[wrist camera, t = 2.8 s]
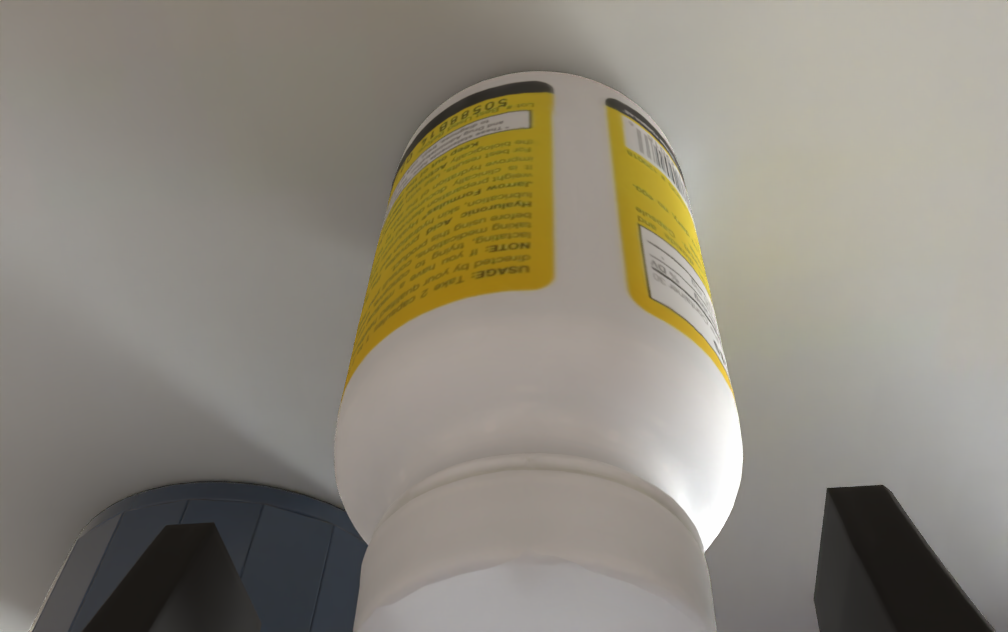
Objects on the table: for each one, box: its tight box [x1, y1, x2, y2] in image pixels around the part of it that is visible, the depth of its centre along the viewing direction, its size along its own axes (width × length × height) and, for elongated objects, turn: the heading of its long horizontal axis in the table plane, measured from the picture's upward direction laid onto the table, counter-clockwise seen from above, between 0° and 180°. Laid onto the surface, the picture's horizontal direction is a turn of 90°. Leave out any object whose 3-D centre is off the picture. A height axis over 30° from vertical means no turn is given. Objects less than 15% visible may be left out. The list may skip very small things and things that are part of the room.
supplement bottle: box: [334, 71, 743, 632], centre depth 14 cm, size 5×5×10 cm
